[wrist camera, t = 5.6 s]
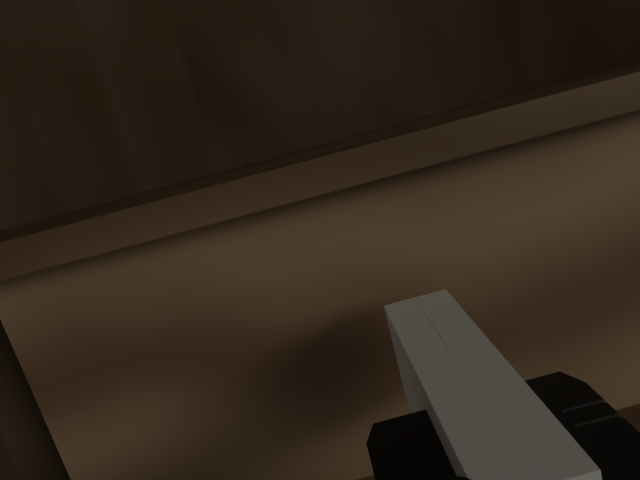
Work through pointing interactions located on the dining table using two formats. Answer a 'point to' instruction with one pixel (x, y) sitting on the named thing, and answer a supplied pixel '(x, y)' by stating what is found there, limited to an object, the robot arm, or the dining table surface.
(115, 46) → the dining table surface
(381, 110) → the dining table surface
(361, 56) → the dining table surface
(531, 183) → the lane
